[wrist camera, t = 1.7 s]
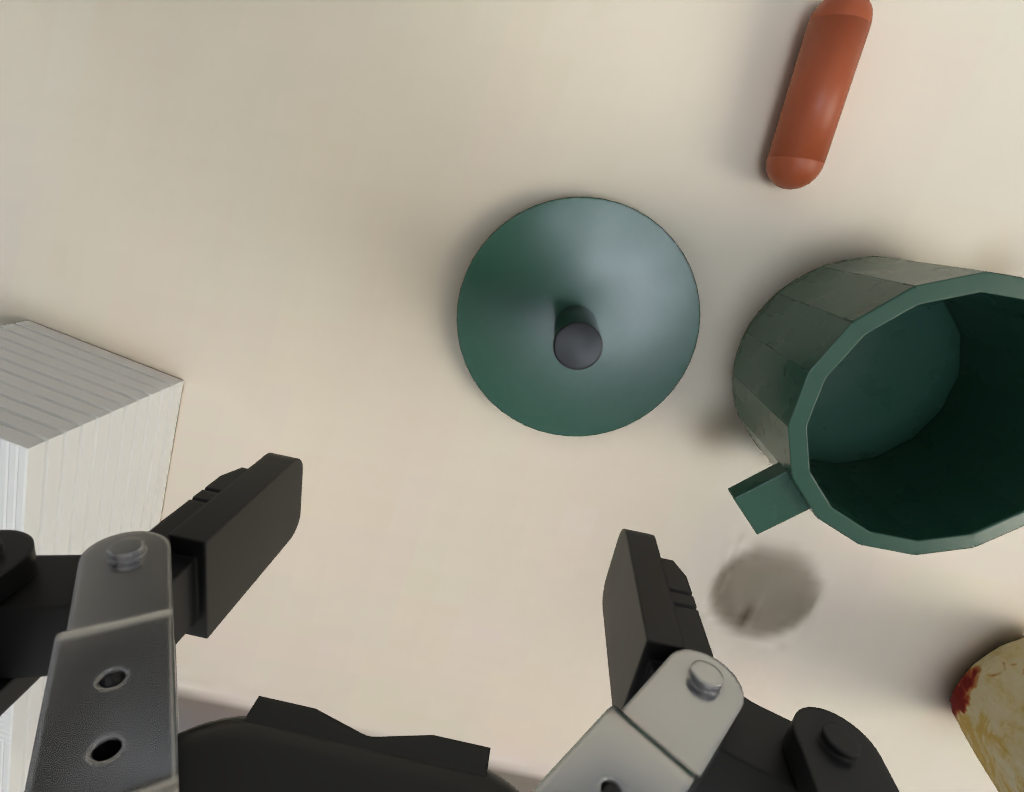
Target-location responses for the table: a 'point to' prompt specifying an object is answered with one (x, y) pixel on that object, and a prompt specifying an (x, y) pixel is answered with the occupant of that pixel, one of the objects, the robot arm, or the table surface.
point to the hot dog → (818, 91)
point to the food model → (995, 714)
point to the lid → (578, 316)
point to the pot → (888, 404)
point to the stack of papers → (75, 466)
